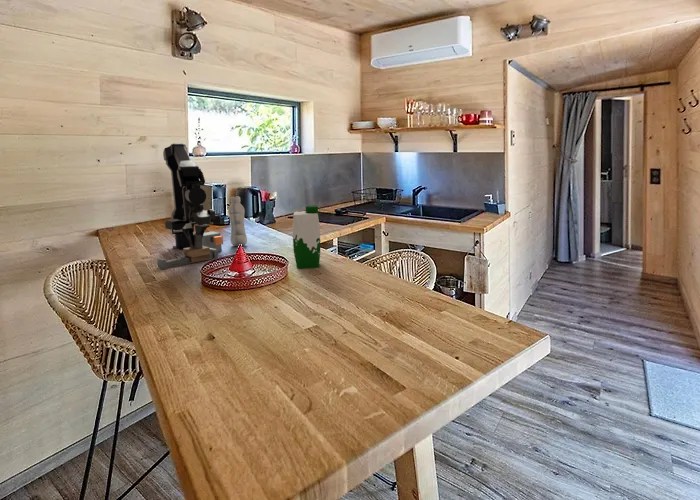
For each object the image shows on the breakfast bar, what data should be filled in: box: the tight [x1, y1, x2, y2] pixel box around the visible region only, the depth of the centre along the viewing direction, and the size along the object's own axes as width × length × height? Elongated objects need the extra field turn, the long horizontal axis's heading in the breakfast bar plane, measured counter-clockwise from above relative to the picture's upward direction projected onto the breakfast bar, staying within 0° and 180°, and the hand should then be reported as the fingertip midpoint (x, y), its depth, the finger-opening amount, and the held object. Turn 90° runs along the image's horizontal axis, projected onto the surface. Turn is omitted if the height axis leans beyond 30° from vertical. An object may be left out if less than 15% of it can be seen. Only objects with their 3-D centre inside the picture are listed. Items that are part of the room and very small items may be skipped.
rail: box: [156, 248, 219, 270], centre depth 165 cm, size 4×21×3 cm, turn 138°
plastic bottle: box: [227, 196, 248, 247], centre depth 190 cm, size 6×7×20 cm
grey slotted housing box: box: [202, 231, 223, 252], centre depth 183 cm, size 6×7×7 cm
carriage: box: [182, 232, 211, 264], centre depth 167 cm, size 6×7×9 cm
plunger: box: [210, 235, 224, 246], centre depth 180 cm, size 7×3×3 cm, turn 48°
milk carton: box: [292, 205, 321, 269], centre depth 155 cm, size 9×9×20 cm
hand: (196, 245), depth 167 cm, fingers closed on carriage, 2 cm apart
